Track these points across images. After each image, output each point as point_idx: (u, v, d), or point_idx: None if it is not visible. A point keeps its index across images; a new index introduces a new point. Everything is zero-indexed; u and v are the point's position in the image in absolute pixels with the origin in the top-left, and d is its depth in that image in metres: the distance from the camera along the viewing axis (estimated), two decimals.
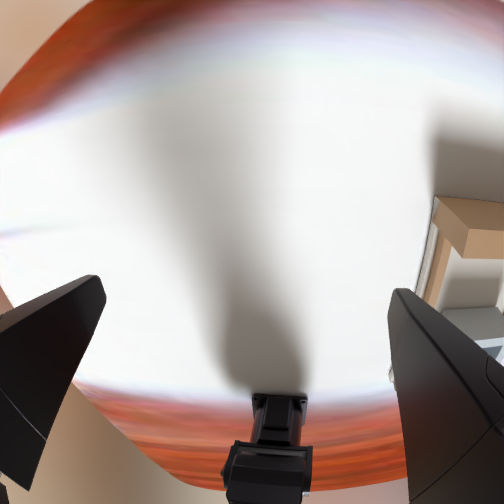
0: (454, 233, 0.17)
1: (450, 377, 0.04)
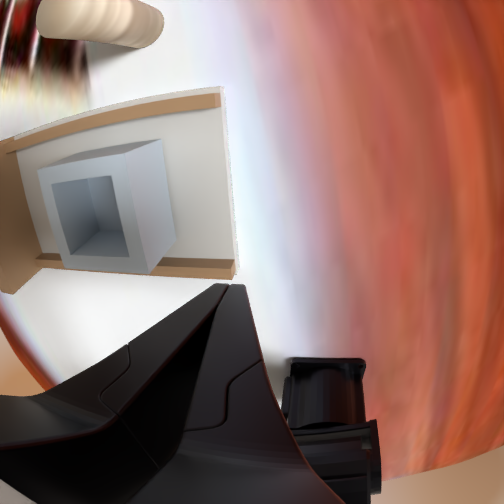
0: None
1: None
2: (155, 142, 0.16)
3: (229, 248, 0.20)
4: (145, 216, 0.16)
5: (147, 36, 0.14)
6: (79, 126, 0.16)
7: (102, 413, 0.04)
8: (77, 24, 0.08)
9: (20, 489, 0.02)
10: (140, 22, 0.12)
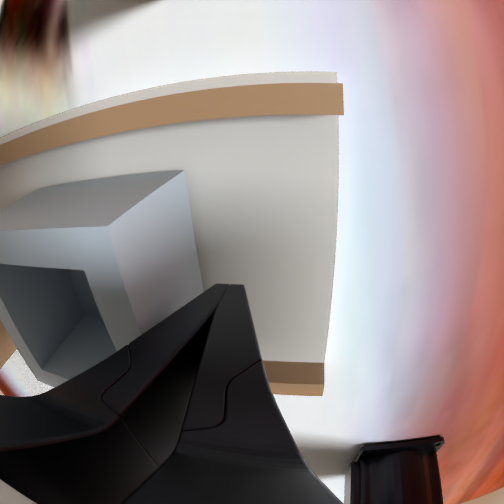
0: None
1: None
2: (174, 179, 0.08)
3: (318, 349, 0.12)
4: None
5: None
6: (48, 140, 0.08)
7: (103, 413, 0.04)
8: None
9: (21, 490, 0.02)
10: None
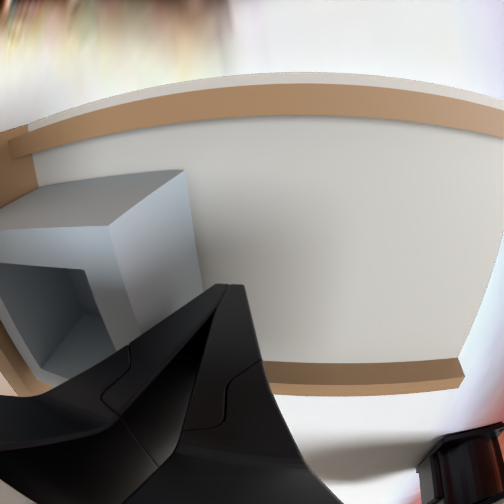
0: None
1: None
2: (175, 179, 0.08)
3: (458, 345, 0.11)
4: None
5: None
6: (237, 105, 0.07)
7: (103, 413, 0.04)
8: None
9: (21, 490, 0.02)
10: None
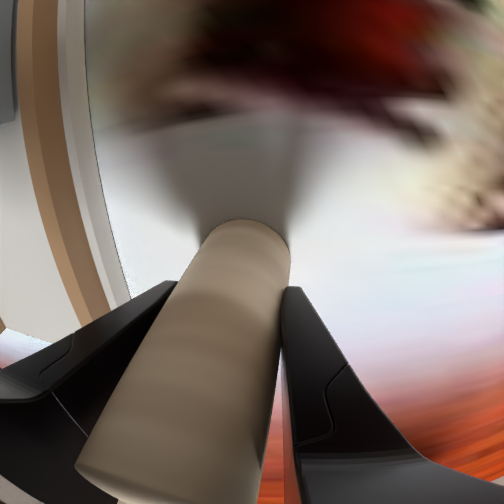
0: None
1: (287, 382, 0.05)
2: None
3: (10, 326, 0.14)
4: None
5: None
6: (35, 175, 0.08)
7: (37, 388, 0.04)
8: None
9: None
10: None
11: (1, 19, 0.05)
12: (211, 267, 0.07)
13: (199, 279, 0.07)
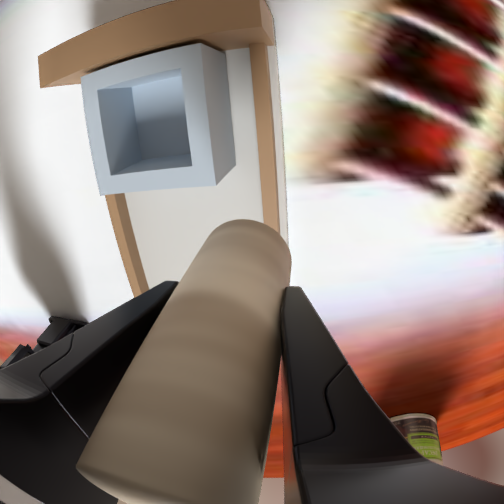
0: None
1: (287, 382, 0.05)
2: None
3: None
4: None
5: None
6: (267, 203, 0.17)
7: (37, 387, 0.04)
8: None
9: None
10: None
11: (226, 94, 0.15)
12: (212, 267, 0.07)
13: (200, 279, 0.07)
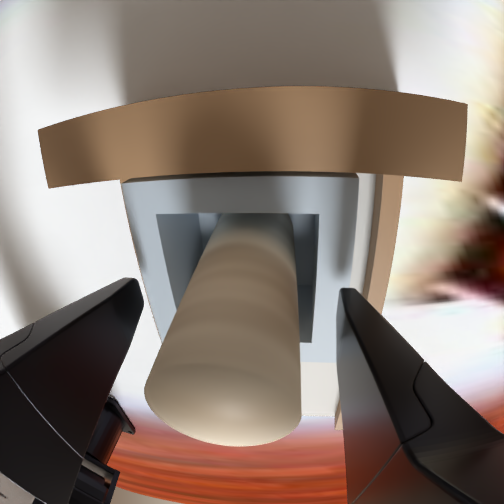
0: None
1: (372, 383, 0.04)
2: None
3: None
4: None
5: None
6: None
7: None
8: None
9: None
10: None
11: None
12: (237, 227, 0.09)
13: (230, 236, 0.09)
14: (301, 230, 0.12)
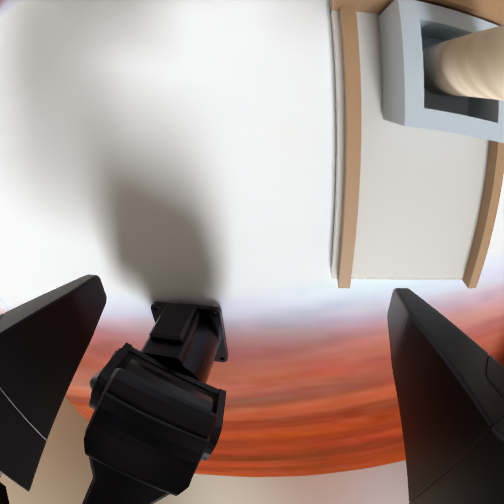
0: None
1: (450, 377, 0.04)
2: None
3: (358, 275, 0.21)
4: None
5: (428, 82, 0.12)
6: (498, 170, 0.15)
7: None
8: (487, 76, 0.07)
9: None
10: (448, 91, 0.11)
11: None
12: None
13: None
14: None
